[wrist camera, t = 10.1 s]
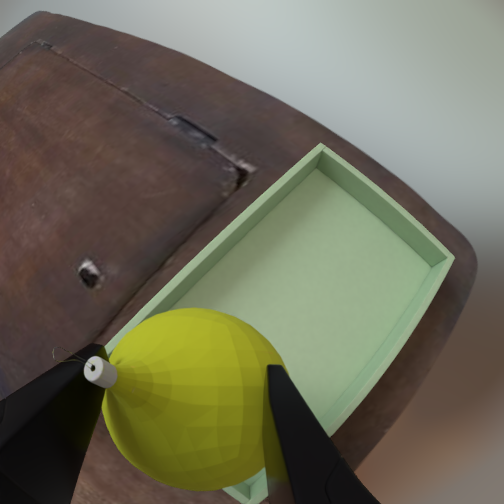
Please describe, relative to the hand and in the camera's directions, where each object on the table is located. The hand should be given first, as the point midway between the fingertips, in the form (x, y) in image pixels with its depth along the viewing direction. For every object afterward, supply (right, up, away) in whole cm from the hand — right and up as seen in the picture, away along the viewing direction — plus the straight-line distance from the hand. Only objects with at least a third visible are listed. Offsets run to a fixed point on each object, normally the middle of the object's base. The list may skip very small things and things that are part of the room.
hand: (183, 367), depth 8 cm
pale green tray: (+5, -2, +14) cm, 14 cm away
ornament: (0, -4, +6) cm, 7 cm away
